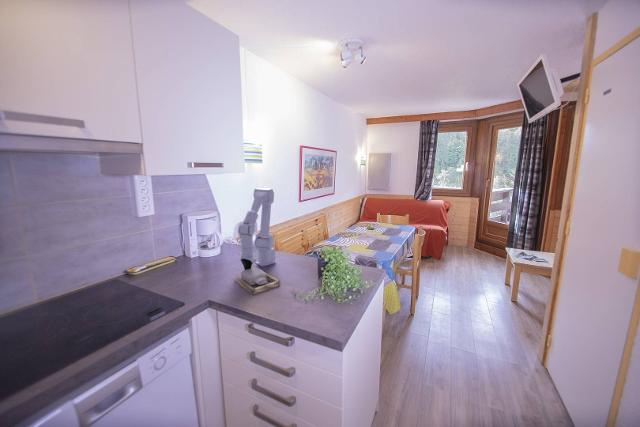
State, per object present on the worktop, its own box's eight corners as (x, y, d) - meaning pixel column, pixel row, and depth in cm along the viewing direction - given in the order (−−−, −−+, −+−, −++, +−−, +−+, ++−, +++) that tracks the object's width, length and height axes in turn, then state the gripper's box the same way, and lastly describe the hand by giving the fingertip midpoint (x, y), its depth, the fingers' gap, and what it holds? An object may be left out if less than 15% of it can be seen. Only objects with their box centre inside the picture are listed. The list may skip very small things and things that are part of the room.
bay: (260, 273, 138) (260, 269, 138) (279, 285, 125) (279, 281, 125) (234, 280, 129) (234, 276, 128) (252, 294, 116) (252, 290, 115)
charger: (256, 291, 119) (241, 280, 130) (273, 285, 126) (257, 275, 136) (255, 281, 119) (241, 271, 129) (273, 276, 125) (257, 266, 136)
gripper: (233, 244, 134) (234, 269, 136) (246, 252, 123) (247, 278, 126) (245, 242, 138) (246, 266, 141) (259, 249, 128) (260, 275, 130)
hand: (247, 272), depth 133 cm, fingers closed
